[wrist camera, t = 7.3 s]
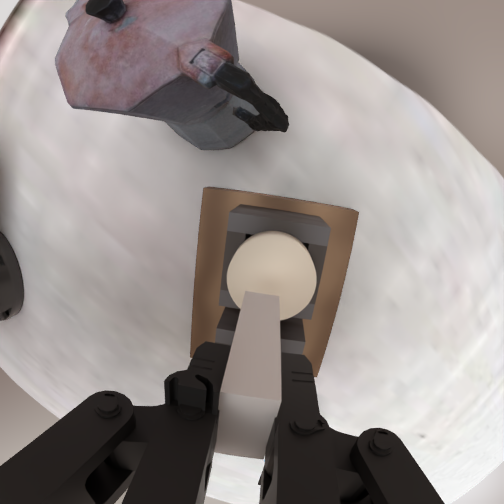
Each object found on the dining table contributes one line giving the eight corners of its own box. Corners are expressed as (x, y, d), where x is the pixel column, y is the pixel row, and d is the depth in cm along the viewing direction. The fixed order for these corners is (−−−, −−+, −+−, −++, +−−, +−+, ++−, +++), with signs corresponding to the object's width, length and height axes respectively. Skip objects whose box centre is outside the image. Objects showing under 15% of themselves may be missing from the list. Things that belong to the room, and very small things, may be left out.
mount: (195, 345, 33) (173, 391, 25) (210, 186, 28) (182, 191, 20) (314, 364, 32) (321, 414, 24) (352, 209, 27) (380, 222, 19)
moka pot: (187, 41, 24) (89, -73, 5) (315, 110, 25) (378, -4, 6) (137, 113, 27) (-16, 68, 7) (259, 189, 28) (213, 220, 8)
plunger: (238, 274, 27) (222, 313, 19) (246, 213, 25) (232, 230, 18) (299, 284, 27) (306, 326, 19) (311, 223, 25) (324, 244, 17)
